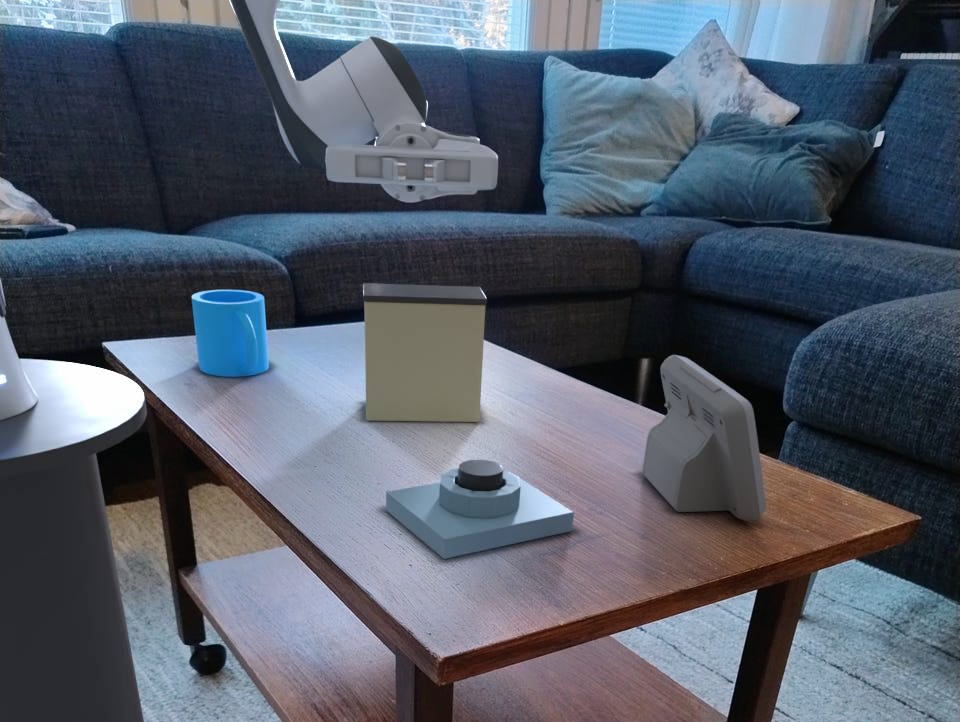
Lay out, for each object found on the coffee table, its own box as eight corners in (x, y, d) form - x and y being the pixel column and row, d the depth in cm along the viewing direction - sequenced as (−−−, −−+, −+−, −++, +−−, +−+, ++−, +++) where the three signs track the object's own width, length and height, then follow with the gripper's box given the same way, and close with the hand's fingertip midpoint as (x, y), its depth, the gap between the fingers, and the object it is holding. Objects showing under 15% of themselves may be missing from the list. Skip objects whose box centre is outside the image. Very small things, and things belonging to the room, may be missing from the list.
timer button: (471, 497, 71) (472, 478, 70) (449, 481, 73) (450, 463, 73) (510, 490, 72) (511, 471, 72) (487, 474, 75) (488, 456, 74)
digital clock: (767, 531, 76) (797, 406, 70) (660, 525, 76) (682, 400, 70) (725, 462, 90) (747, 353, 84) (634, 457, 89) (650, 348, 84)
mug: (190, 361, 110) (183, 291, 106) (255, 356, 114) (250, 288, 110) (220, 388, 102) (213, 313, 97) (290, 381, 105) (285, 308, 101)
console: (480, 422, 96) (487, 299, 90) (365, 421, 95) (363, 295, 88) (474, 404, 101) (479, 286, 95) (364, 403, 100) (363, 283, 93)
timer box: (443, 559, 68) (445, 516, 66) (385, 510, 75) (385, 470, 74) (572, 531, 74) (576, 491, 72) (506, 488, 81) (509, 450, 79)
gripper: (324, 128, 110) (320, 135, 98) (490, 137, 112) (506, 145, 101) (326, 186, 113) (322, 199, 101) (487, 193, 116) (502, 207, 104)
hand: (415, 172), depth 101 cm, fingers closed
